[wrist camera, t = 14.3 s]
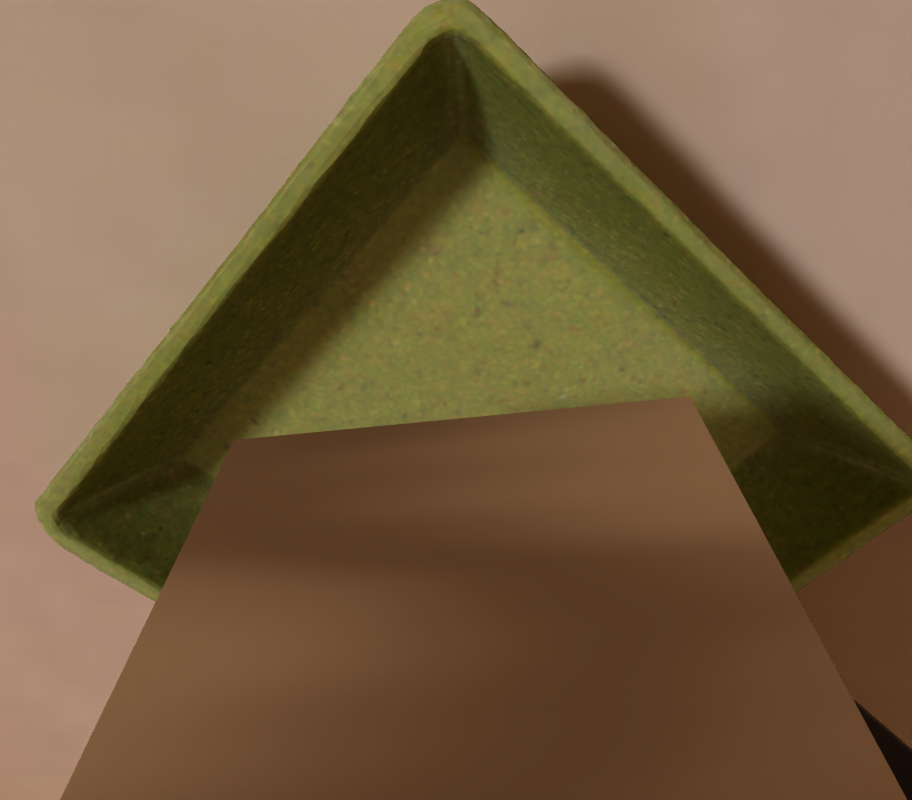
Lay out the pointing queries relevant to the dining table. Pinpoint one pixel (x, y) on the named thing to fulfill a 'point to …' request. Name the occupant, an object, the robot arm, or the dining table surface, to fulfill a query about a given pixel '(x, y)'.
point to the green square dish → (475, 317)
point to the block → (481, 627)
